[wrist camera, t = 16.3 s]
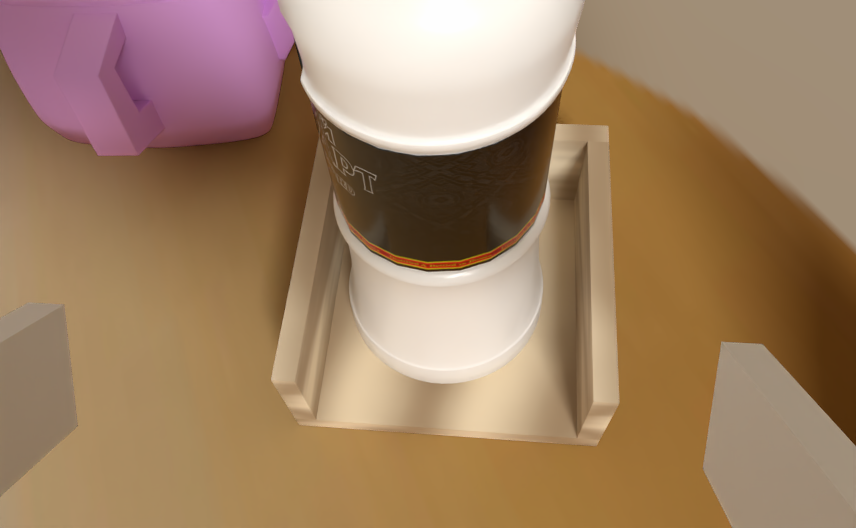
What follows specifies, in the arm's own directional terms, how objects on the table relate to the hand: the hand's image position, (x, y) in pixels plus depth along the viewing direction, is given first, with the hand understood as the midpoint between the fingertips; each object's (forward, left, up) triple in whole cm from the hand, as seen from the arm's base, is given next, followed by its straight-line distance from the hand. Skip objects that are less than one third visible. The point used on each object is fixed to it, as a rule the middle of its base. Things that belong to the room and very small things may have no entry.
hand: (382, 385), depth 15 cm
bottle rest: (0, +12, -20) cm, 24 cm away
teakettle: (-18, +28, -21) cm, 39 cm away
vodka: (0, +12, -20) cm, 23 cm away
